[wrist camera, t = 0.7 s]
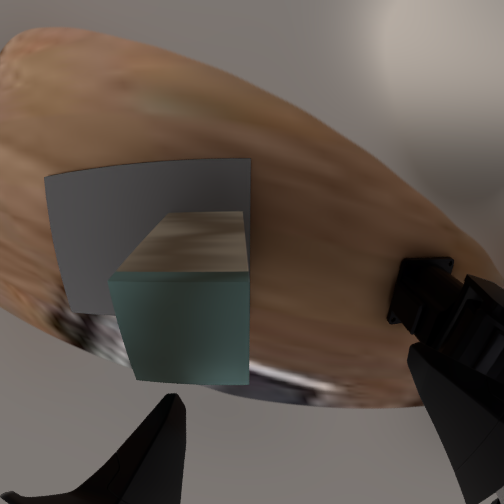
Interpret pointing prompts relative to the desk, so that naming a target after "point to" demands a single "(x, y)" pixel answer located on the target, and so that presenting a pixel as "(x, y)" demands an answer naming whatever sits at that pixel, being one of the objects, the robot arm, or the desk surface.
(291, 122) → the desk surface
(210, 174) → the mat
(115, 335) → the desk surface
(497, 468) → the robot arm
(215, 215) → the ash block
